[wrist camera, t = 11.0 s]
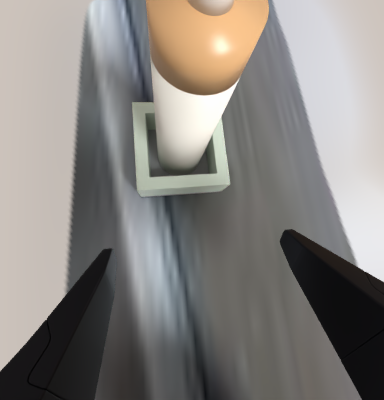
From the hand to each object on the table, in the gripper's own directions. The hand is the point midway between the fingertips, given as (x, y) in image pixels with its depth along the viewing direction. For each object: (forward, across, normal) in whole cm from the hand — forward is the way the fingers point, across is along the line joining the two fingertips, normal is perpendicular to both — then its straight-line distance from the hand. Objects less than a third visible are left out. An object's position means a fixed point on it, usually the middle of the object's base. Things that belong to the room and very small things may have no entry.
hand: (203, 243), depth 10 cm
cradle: (+11, 0, 0) cm, 11 cm away
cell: (+11, 0, 0) cm, 11 cm away
